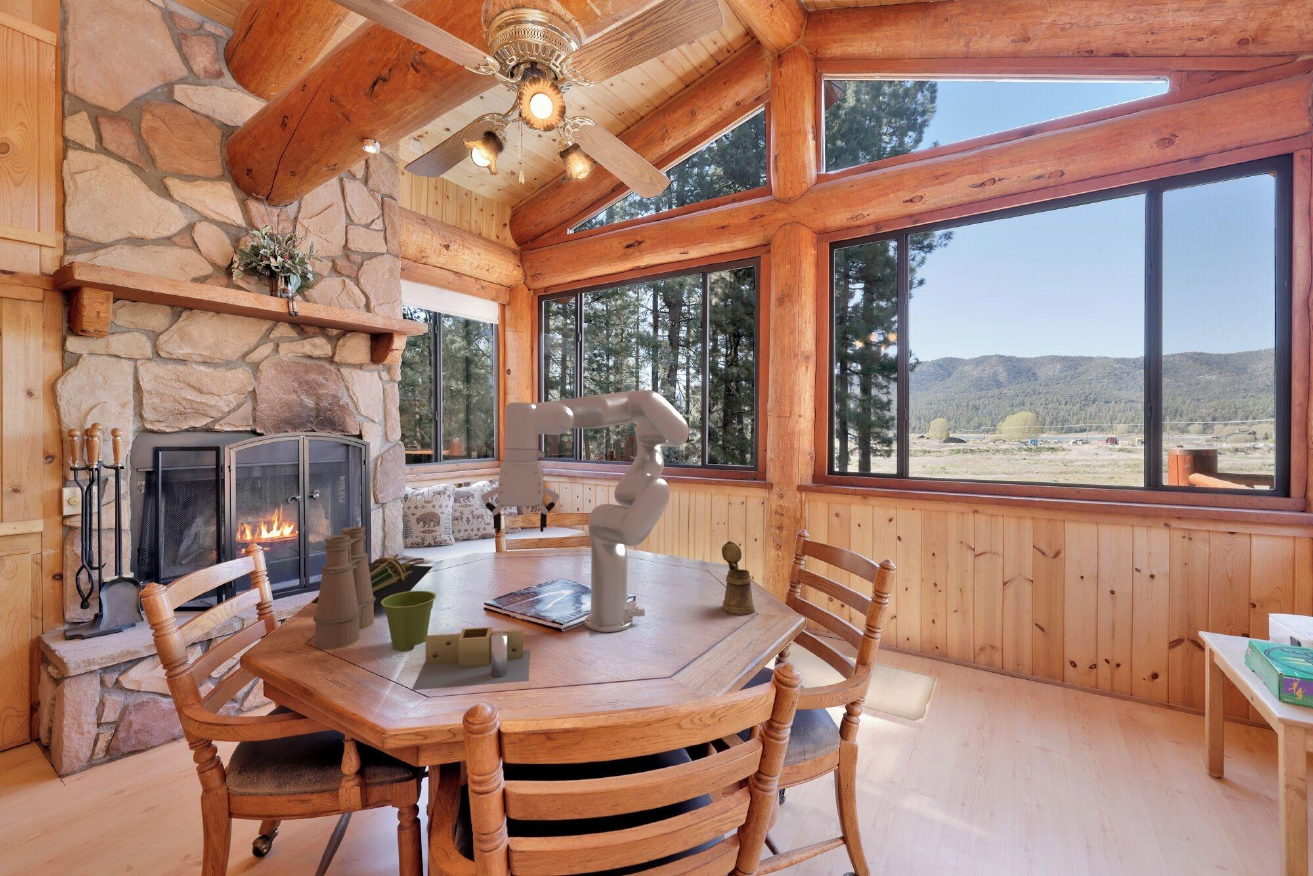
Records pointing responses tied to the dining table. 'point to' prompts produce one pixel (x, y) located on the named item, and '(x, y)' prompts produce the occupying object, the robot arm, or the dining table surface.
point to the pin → (498, 655)
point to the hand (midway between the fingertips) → (520, 531)
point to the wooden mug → (736, 583)
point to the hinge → (470, 647)
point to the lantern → (393, 577)
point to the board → (470, 674)
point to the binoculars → (344, 591)
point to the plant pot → (408, 617)
